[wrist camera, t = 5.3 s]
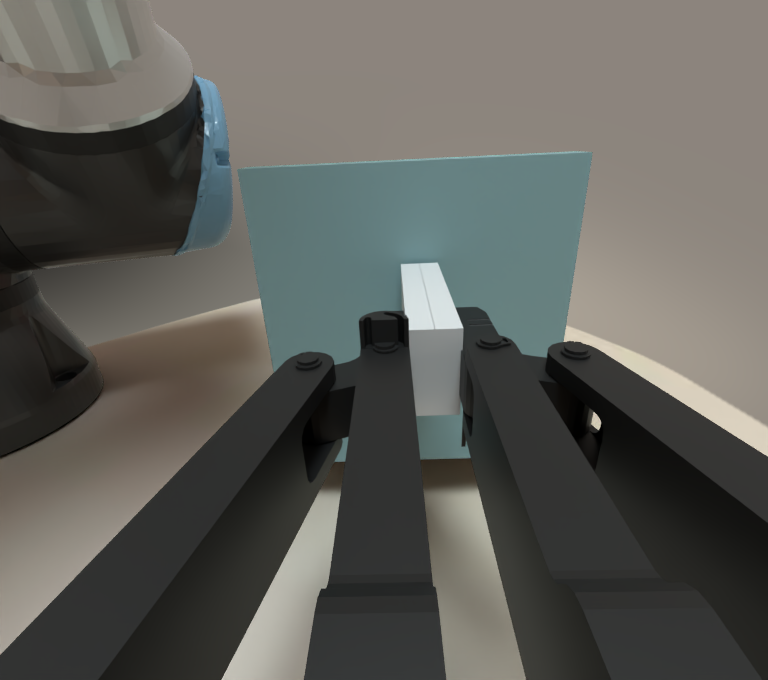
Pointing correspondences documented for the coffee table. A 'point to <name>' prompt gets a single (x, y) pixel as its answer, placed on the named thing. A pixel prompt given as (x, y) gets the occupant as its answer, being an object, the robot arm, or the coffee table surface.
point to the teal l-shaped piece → (415, 251)
